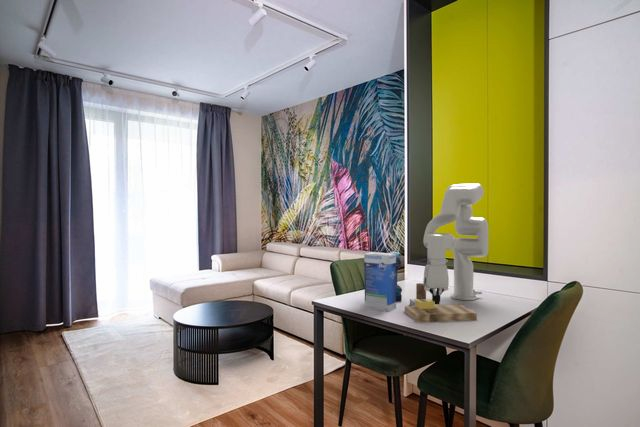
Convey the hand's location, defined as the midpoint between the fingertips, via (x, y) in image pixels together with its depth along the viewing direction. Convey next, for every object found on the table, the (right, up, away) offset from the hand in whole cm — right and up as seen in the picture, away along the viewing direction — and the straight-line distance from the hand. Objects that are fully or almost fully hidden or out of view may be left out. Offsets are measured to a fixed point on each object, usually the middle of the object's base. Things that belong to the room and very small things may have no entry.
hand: (436, 303), depth 159 cm
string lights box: (-23, -5, +9) cm, 25 cm away
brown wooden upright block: (-3, -4, +11) cm, 12 cm away
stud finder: (-5, -1, -1) cm, 5 cm away
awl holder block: (-3, -5, +11) cm, 13 cm away
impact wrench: (-13, -5, +26) cm, 30 cm away
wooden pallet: (0, -5, -3) cm, 6 cm away
